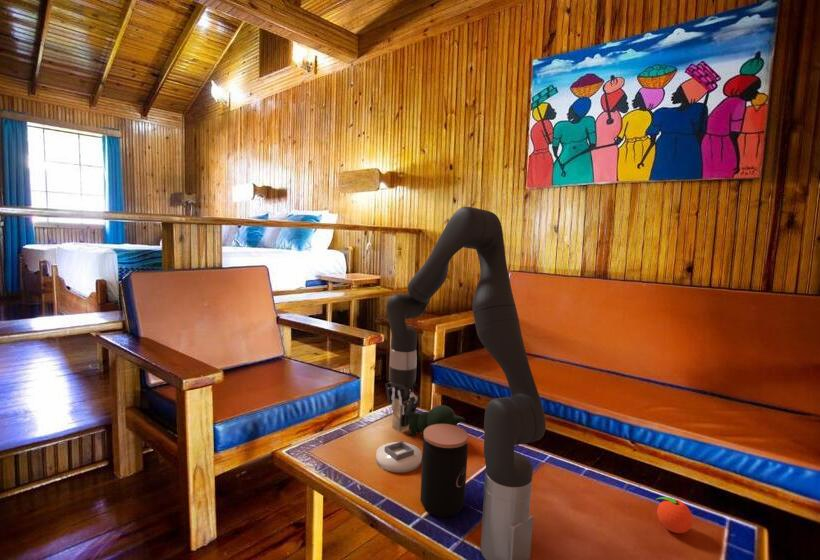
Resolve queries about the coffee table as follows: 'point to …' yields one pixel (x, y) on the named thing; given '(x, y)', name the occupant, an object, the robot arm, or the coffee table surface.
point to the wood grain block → (398, 416)
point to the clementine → (674, 515)
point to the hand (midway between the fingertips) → (400, 422)
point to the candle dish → (399, 457)
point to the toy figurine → (432, 418)
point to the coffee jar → (444, 469)
